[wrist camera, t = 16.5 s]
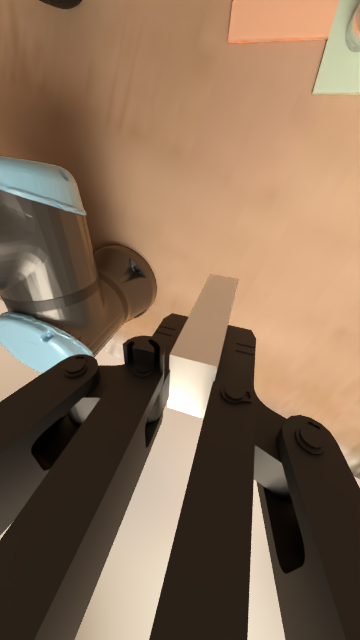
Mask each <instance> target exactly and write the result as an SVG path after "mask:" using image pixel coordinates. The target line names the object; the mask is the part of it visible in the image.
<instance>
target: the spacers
mask: <svg viewBox="0 0 360 640" xmlns="http://www.w3.org/2000/svg"><path fill="white" fill-rule="evenodd" d="M345 41H346V45H347V47H348V49H349V50H350V51H352V52H360V4H359V6H358V8H357V9H356V11H355V13H354V14H353V16H352V18H351V20H350V22H349V24H348V26H347V30H346V35H345Z"/></svg>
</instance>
